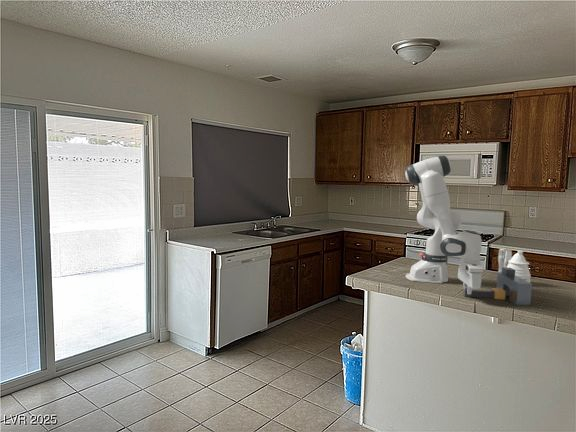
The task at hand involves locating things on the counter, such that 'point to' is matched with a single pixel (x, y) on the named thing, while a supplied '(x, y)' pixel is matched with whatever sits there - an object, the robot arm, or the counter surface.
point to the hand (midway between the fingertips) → (467, 293)
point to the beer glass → (504, 258)
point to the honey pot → (520, 266)
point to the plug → (487, 293)
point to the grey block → (514, 287)
